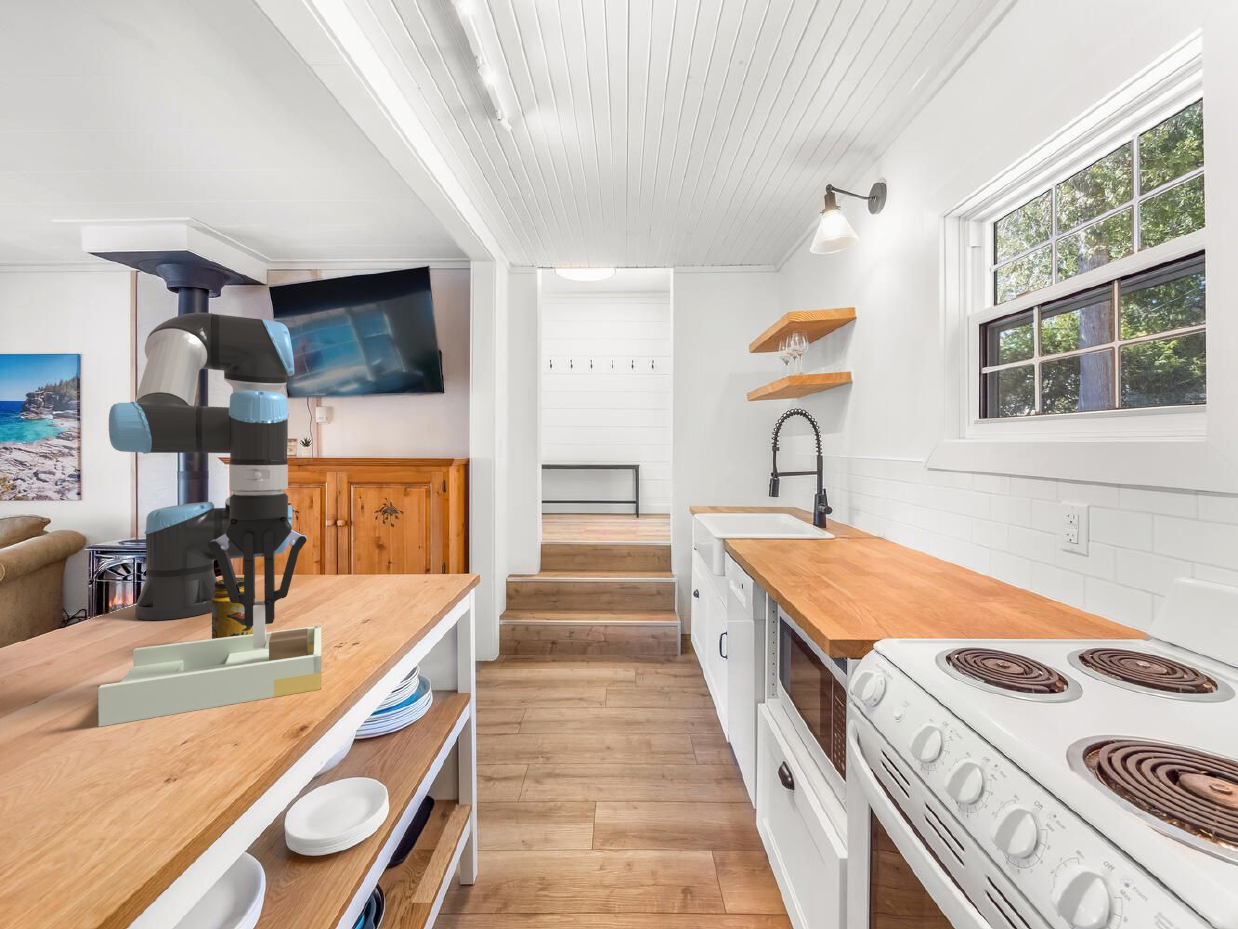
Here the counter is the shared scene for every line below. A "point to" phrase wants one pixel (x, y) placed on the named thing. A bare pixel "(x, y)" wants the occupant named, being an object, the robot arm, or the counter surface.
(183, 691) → the box
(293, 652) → the block
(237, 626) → the condiment
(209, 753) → the counter surface
